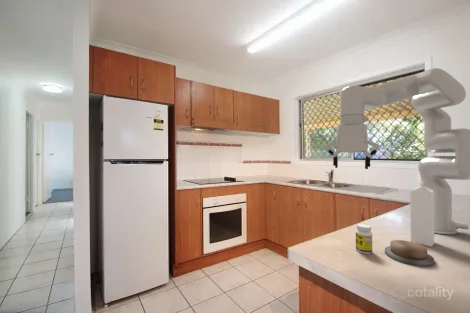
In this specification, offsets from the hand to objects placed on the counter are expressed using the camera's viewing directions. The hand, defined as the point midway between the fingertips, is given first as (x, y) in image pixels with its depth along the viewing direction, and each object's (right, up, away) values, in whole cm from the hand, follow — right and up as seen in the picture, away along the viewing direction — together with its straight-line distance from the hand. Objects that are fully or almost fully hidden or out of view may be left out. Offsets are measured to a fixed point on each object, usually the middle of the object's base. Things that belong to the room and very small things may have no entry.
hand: (351, 168), depth 79 cm
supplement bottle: (+1, -27, -7) cm, 28 cm away
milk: (+27, -27, +1) cm, 38 cm away
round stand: (+12, -27, -11) cm, 31 cm away
